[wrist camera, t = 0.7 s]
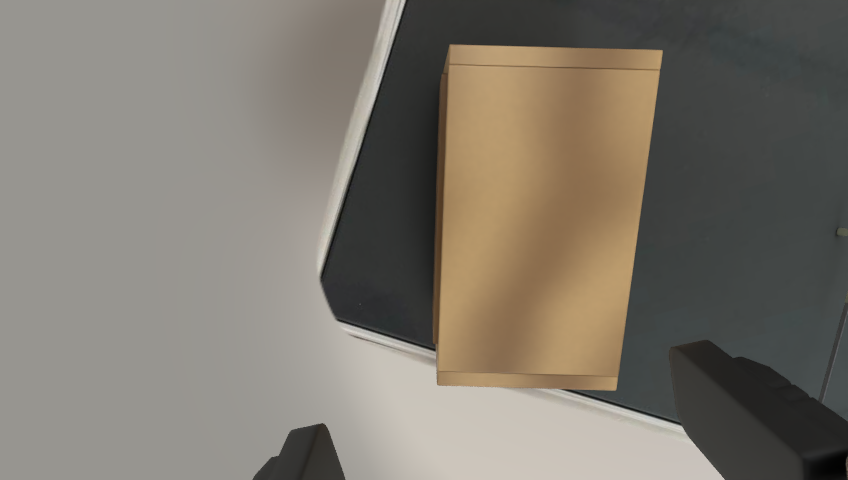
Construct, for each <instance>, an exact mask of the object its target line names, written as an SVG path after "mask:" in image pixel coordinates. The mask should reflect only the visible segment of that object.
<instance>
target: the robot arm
mask: <svg viewBox="0 0 848 480" xmlns="http://www.w3.org/2000/svg"><path fill="white" fill-rule="evenodd" d="M669 361H670V368H671V376H672V383H673V390H674V398H675V405H676V410H677V414H678V417H679V420H680V422H681V424H682V426H683V428H684V430H685V432H686V434H687V435H688V436H689V438H690V439H691V440H692V441H693V443H694V444H695V445H696V446H697V447H698V448H699V450H700V451H701V452H702V453H703V454H704V455H705V457H706V458H707V459H708V460H709V461H710V462H711V464H712V465H713V466H714V467H715V468H716V470H717V471H718V472H719V473H720V474H721V475H722V477H723V478H724V479H725V480H848V422H847V421H846V420H845V419H843V418H842V417H840V416H839V415H837V414H836V413H835V412H833V411H832V410H830V409H829V408H827V407H826V406H824V405H823V404H822V403H820V402H819V401H817V400H816V399H814V398H813V397H812V398H810V397H809V396H808V394H807V393H806V392H804V391H803V390H801V389H800V388H799V387H797V386H796V385H791V383H790V381H789V380H787V379H786V378H784V377H783V376H781V375H780V374H779V373H777V372H776V371H774V370H773V369H771V368H770V367H768V366H765V365H763V364H760V363H757V362H755V361H752V360H749V359H746V358H744V357H737V358H732V357H731V356H729V355H728V354H727V353H725V352H724V351H723V350H721V349H720V348H719V347H717V346H716V345H715V344H713V343H712V342H710V341H708V340H702V341H698V342H693V343H689V344H684V345H680V346H675V347H671V348H670V350H669ZM253 480H345V477H344V473H343V471H342V468H341V465H340V462H339V459H338V456H337V453H336V450H335V447H334V445H333V442H332V439H331V436H330V433H329V431H328V428H327V427H326V425H325V424H323V423H322V424H317V425H312V426H308V427H303V428H298V429H294V430H291V432H290V433H289V434H288V437H287V439H286V441H285V443H284V446H283V448H282V450H281V452H280V454H279V456H276V457H272V458H271V459H269V461H268V462H267V463H266V464H265V465H264V466H263V467H262V468H261V469H260V471H259V472H258V473H257V474H256V475H255V476H254V478H253Z"/></svg>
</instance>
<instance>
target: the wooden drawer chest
mask: <svg viewBox="0 0 848 480" xmlns="http://www.w3.org/2000/svg"><path fill="white" fill-rule="evenodd" d="M662 53H663V51H662V50H639V49H601V48H563V47H526V46H488V45H450V46H449V50H448V54H447V58H446V62H445V66H444V70H443V74H442V76H441V81H440V92H439V123H438V154H437V184H436V215H435V246H434V276H433V307H432V321H433V344H436V367H437V385H442V386H477V387H478V386H479V387H511V388H546V389H581V390H616V387H617V380H618V377H617V376H618V373H619V366H620V359H621V351H622V344H623V337H624V330H625V322H626V315H627V308H628V300H629V293H630V286H631V279H632V271H633V264H634V257H635V249H636V242H637V235H638V228H639V220H640V213H641V206H642V198H643V191H644V184H645V177H646V169H647V162H648V155H649V147H650V140H651V133H652V126H653V118H654V111H655V104H656V96H657V89H658V82H659V74H660V71H659V70H660V67H661V60H662Z"/></svg>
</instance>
